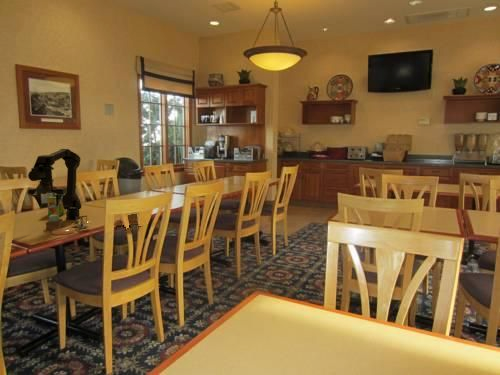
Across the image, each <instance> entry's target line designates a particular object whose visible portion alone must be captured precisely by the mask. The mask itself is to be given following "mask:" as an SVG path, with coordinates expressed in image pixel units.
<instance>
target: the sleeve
mask: <svg viewBox="0 0 500 375" xmlns="http://www.w3.org/2000/svg"><path fill="white" fill-rule="evenodd" d="M63 221H64V220H63V219H62V218H59V221H58V222H49V220H47V221H46V222H45V228H46V230H55V229H59V228H63V226H64V224H63V223H64V222H63Z"/></svg>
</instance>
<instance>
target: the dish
mask: <svg viewBox="0 0 500 375" xmlns="http://www.w3.org/2000/svg"><path fill="white" fill-rule="evenodd" d="M75 232H76V228H74V227H61V228H59V229H52V232H51V233H52V234H53V235H56V236H63V235H70V234H73V233H75Z"/></svg>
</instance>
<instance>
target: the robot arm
mask: <svg viewBox="0 0 500 375" xmlns="http://www.w3.org/2000/svg"><path fill="white" fill-rule="evenodd" d="M60 159H62V160H63V161H64V165H65V167H66V168H67V172H66V173H67V174H66V187H58V188H56V189H55V186H54V179H53V170H55V168H54V167H53V165H54V164H55V163H56V161H59V160H60ZM80 164H81V156H80V155H79V154H77V153H76V152H74V151H72V150H71V149H69V148H60V149H59V150H57V151H54V152H52V153H50V154H41V155H38V156H37V158H36V160H35V162H34V165H33V167H32V168H31V169H30V171H29V172H28V175H27V177H28V179H29V180H30V181H32V182H36V181H39V184H38V185H37V186H36V187H31V188H29V189H27V195H28V196H29V195H30V196H31V197H33V198H34V199H35V201H36V202H37V205H38V206H39V207H41V208H42V195H46V194H50V193H51V194H53V193H55V196H56V206H58V205H59V202H60V200H61V197H62V198H63V199H62V204H63V207H64V209H66V213H65V215H66V217H65V219H67V220H70V221H75V220H76V217H79V216H80V210H81V209H82V204H81V202H80V201H79V197H78V195H77V193H76V188H77V187H76V186H77V170H78V168H79V167H80ZM77 220H80V218H77Z"/></svg>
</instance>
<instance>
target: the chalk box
mask: <svg viewBox="0 0 500 375" xmlns="http://www.w3.org/2000/svg"><path fill="white" fill-rule="evenodd" d="M55 195H56V193H52V195H51V196H49V197H48V198H47V212H48V213H47V214H48V217H49V216H50V215H59V216H64V215H66V212H67V209H64V207H63V204H62V199H63V198H62V197H61V200H60V202H59V205H58V206H56V196H55Z"/></svg>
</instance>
